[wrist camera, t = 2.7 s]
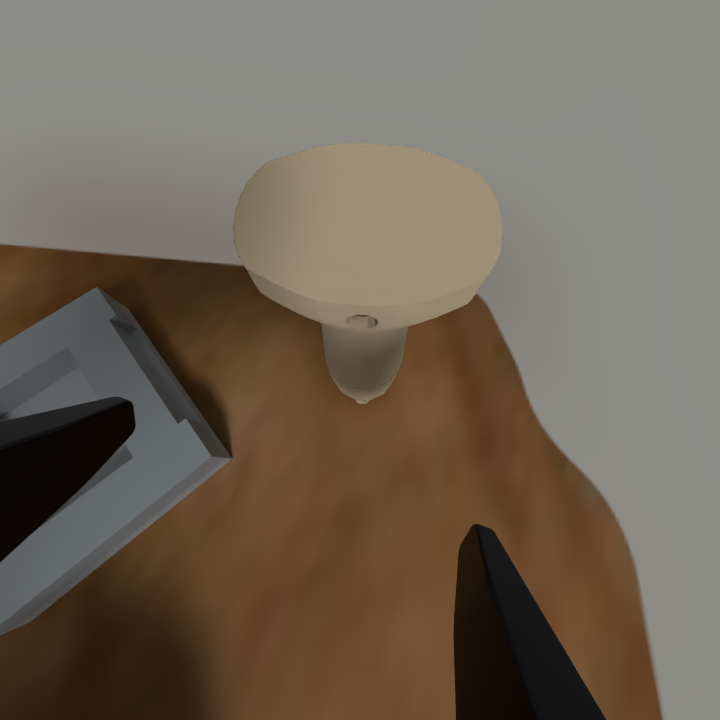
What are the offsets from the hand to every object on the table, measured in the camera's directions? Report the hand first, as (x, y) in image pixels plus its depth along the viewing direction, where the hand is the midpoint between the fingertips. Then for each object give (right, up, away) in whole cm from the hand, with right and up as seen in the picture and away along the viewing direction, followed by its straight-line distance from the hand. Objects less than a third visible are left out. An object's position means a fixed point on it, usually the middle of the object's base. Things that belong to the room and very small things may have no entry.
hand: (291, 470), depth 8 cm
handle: (+2, +1, +14) cm, 14 cm away
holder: (-16, -3, +13) cm, 20 cm away
